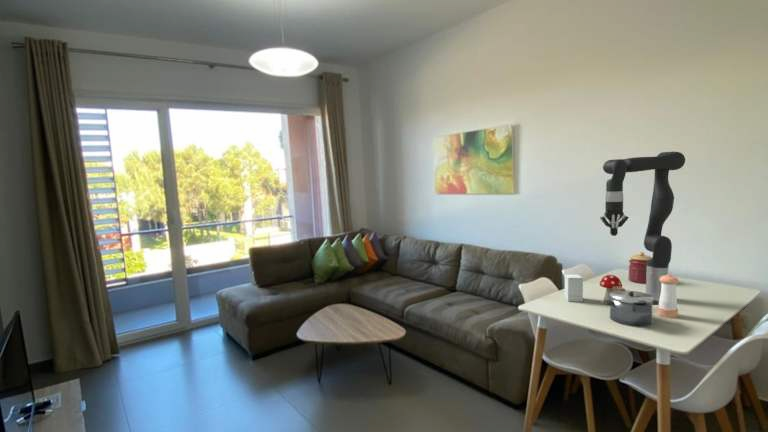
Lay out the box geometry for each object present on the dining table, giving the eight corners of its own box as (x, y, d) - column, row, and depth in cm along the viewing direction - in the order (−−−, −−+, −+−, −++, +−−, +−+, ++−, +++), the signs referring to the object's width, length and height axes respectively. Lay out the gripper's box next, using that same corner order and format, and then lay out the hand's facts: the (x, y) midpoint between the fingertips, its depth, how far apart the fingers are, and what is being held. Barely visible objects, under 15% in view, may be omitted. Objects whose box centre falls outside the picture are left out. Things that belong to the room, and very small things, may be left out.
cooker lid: (634, 289, 191) (634, 283, 191) (662, 304, 168) (662, 298, 168) (597, 289, 193) (597, 283, 192) (620, 304, 170) (621, 298, 170)
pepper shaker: (671, 319, 178) (672, 277, 176) (654, 314, 184) (655, 273, 183) (681, 316, 181) (682, 274, 179) (664, 311, 187) (665, 271, 185)
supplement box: (583, 301, 206) (583, 277, 204) (567, 301, 207) (567, 277, 206) (579, 297, 213) (579, 274, 212) (564, 297, 214) (564, 274, 213)
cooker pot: (646, 313, 185) (646, 292, 184) (670, 328, 167) (671, 305, 166) (597, 313, 188) (597, 293, 187) (616, 328, 170) (616, 305, 169)
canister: (623, 279, 245) (623, 250, 243) (642, 277, 246) (643, 249, 244) (639, 284, 232) (639, 254, 230) (659, 283, 233) (660, 253, 232)
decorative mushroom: (600, 306, 198) (600, 276, 197) (598, 300, 206) (598, 272, 205) (623, 307, 195) (624, 277, 193) (620, 302, 203) (620, 273, 201)
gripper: (624, 199, 198) (624, 234, 200) (596, 200, 200) (596, 234, 201) (632, 200, 191) (631, 236, 192) (603, 201, 192) (603, 237, 194)
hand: (613, 235), depth 197 cm, fingers closed
